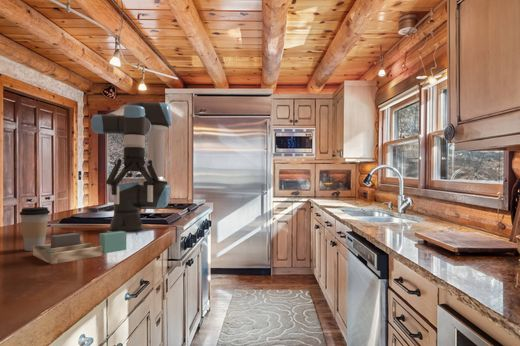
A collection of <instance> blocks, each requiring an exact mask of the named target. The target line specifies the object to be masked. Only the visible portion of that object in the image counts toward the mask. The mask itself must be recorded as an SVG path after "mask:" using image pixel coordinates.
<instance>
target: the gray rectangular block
mask: <svg viewBox="0 0 520 346" xmlns="http://www.w3.org/2000/svg"><path fill="white" fill-rule="evenodd" d="M80 240H81V233H77V232H71V233H61V234H54V235H50V244H51V248H58V247H65V246H72V245H79V244H80Z"/></svg>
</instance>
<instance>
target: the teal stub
mask: <svg viewBox="0 0 520 346" xmlns="http://www.w3.org/2000/svg"><path fill="white" fill-rule="evenodd" d="M98 244H99V246H102V247H103V254H110V253H116V252H121V251H127V231H110V232H101V233H99V243H98Z"/></svg>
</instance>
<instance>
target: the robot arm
mask: <svg viewBox="0 0 520 346" xmlns="http://www.w3.org/2000/svg"><path fill="white" fill-rule="evenodd" d="M172 119H173V118H172V111H171V107H170V105H169V103H167V102H160V101H159V102H154V101H153V102H151V101H150V102H149V101H148V102H147V101H136V102H131V103H127V104H123V105H121V106H120V107H118V109H117V110H114V111H111V112H109V113H106V114H101V113H100V114H93V116H91V120H90V127H91V130H92V132H93V133H95V134H101V135H104V134H107V135H108V134H109V135H110V134H112V135H123V146H125V147H123V159H120V158H116V159H114V160H115V161H114V165H113V168H112V169H111V171H110V174H109V176H108V178H107V180H106V182H105V184H106V185H109V186H110V187H111V196H112V195H113V217H112V219H111V222H110V224H109V231H110V232H116V231H124V232H133V231H134V232H135V231H140V230H143V222H142V218H141V216H140V209H160V208H161V209H163V208H166V207H167V206H168V205H169V202H170V196H171V188H172V187H171V185H170V184H168V180H167V179H166V178H165V177H166V176H165V171H166V170H165V167H166V166H165V165H166V133H167V131H169V129H170V128H169V127H171V126H172V125H173V120H172ZM146 136H147V155H145V152H146V151H145V144H146V142H145V141H146V140H145V139H146ZM145 156H147V158H146V159H145ZM122 165H124V167H123V168H122V169H121V167H122ZM145 166H146V168H145ZM120 169H121V171H120V172H119V170H120ZM118 172H119V174H118ZM129 172H139V173H140V174H141V176H142V177H143V178H144V179H143V184H140V182H139V181H134V182H125V183H120V182H121V181H122V180H123V179H124V178H125V176H126V175H127V174H129Z"/></svg>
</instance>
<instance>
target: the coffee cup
mask: <svg viewBox="0 0 520 346" xmlns="http://www.w3.org/2000/svg"><path fill="white" fill-rule="evenodd" d="M50 213H51V211H50V210H49V208H48V207H45V206H35V207H22V208H21V211H19V214H18V215H20V223H21V234H22V239H23V245H24V251H26V252H33V246H40V245H46V243H45V242H46V236H47V232H48V223H49V222H48V221H49V219H48V218H49V214H50Z"/></svg>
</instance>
